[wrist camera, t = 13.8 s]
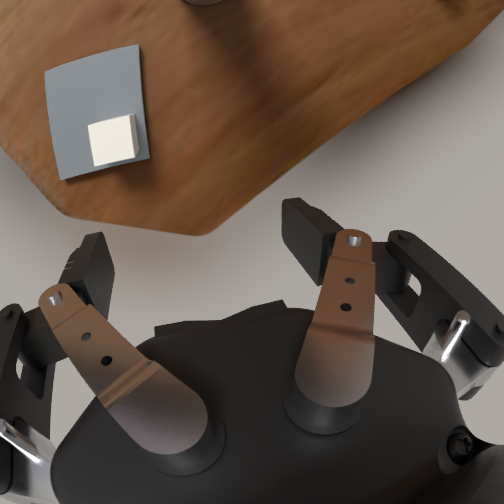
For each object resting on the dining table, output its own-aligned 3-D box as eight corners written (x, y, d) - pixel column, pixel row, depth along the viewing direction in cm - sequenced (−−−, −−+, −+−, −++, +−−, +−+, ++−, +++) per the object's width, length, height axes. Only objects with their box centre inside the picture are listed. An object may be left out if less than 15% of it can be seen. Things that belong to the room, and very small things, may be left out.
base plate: (139, 46, 30) (138, 44, 29) (150, 156, 39) (149, 158, 38) (48, 72, 27) (44, 71, 25) (63, 177, 36) (60, 180, 35)
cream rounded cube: (134, 113, 34) (129, 115, 29) (139, 149, 37) (134, 157, 32) (98, 121, 33) (87, 125, 28) (103, 157, 36) (94, 166, 31)
